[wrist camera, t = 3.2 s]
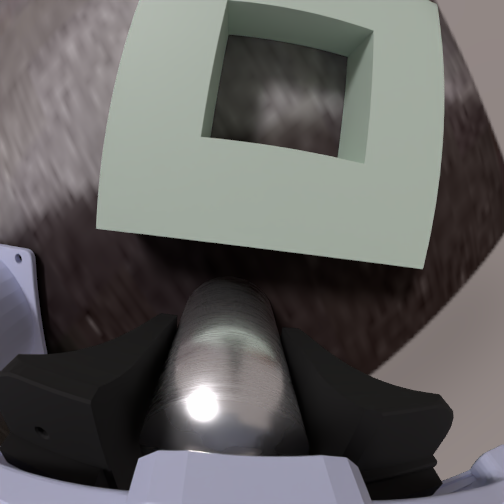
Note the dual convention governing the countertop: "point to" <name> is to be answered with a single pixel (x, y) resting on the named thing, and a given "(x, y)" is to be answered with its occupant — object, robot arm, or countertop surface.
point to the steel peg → (226, 379)
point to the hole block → (272, 157)
